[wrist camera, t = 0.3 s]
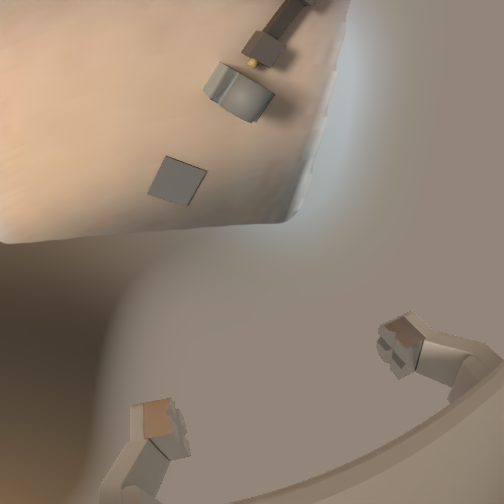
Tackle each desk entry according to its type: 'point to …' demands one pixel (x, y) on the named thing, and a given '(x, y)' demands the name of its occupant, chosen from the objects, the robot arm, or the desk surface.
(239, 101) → the housing
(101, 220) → the desk surface
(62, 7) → the desk surface
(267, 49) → the grey long block-ended bar
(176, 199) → the pad
